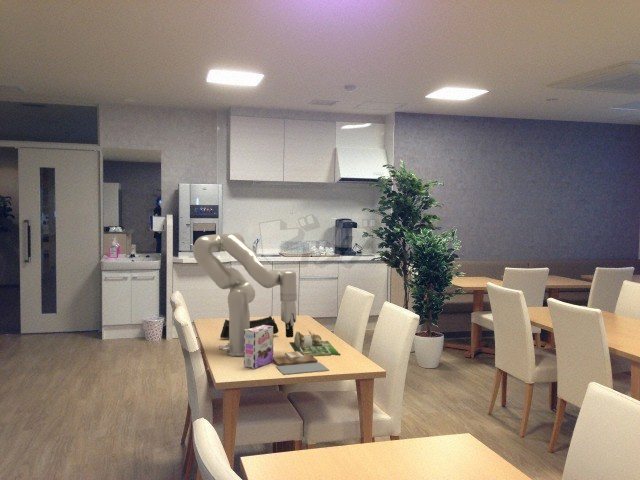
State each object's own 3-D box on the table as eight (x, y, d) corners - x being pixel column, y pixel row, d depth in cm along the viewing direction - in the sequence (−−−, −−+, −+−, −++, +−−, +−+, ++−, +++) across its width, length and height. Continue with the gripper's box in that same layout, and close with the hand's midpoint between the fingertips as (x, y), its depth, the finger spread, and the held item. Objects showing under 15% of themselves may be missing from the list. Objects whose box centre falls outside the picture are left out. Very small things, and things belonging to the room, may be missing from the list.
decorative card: (288, 327, 291) (326, 326, 295) (288, 341, 292) (326, 340, 295) (298, 341, 259) (340, 340, 263) (298, 358, 260) (340, 356, 264)
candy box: (254, 369, 239) (254, 331, 238) (243, 367, 242) (243, 329, 241) (273, 362, 250) (274, 325, 249) (263, 360, 253) (263, 324, 252)
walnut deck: (278, 367, 243) (278, 363, 243) (272, 361, 252) (272, 357, 252) (317, 363, 249) (317, 360, 249) (310, 357, 258) (310, 354, 258)
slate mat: (283, 374, 231) (283, 374, 231) (275, 367, 242) (275, 366, 242) (329, 370, 238) (329, 369, 238) (319, 363, 249) (319, 362, 249)
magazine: (216, 323, 290) (270, 304, 298) (215, 322, 293) (269, 303, 301) (225, 354, 292) (279, 334, 301) (224, 352, 295) (278, 333, 304)
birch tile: (290, 361, 246) (290, 357, 245) (285, 356, 254) (285, 352, 254) (303, 360, 248) (304, 356, 248) (297, 355, 256) (297, 351, 256)
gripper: (276, 296, 265) (277, 334, 266) (285, 300, 251) (286, 341, 252) (291, 294, 268) (292, 333, 268) (301, 299, 254) (302, 339, 254)
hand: (289, 337), depth 260 cm, fingers closed
